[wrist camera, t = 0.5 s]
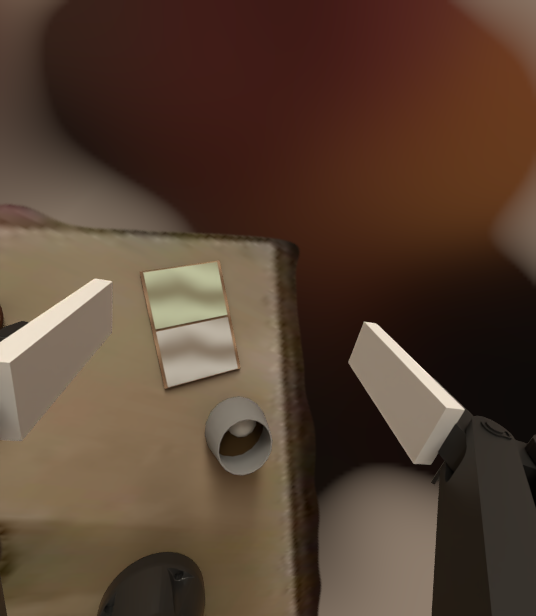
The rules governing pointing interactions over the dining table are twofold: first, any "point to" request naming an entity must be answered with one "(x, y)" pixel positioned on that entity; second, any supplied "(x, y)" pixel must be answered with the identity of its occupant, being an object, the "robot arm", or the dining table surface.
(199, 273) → the green and white board
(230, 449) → the cup
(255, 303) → the dining table surface
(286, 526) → the dining table surface
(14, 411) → the robot arm
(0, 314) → the food container
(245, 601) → the dining table surface
